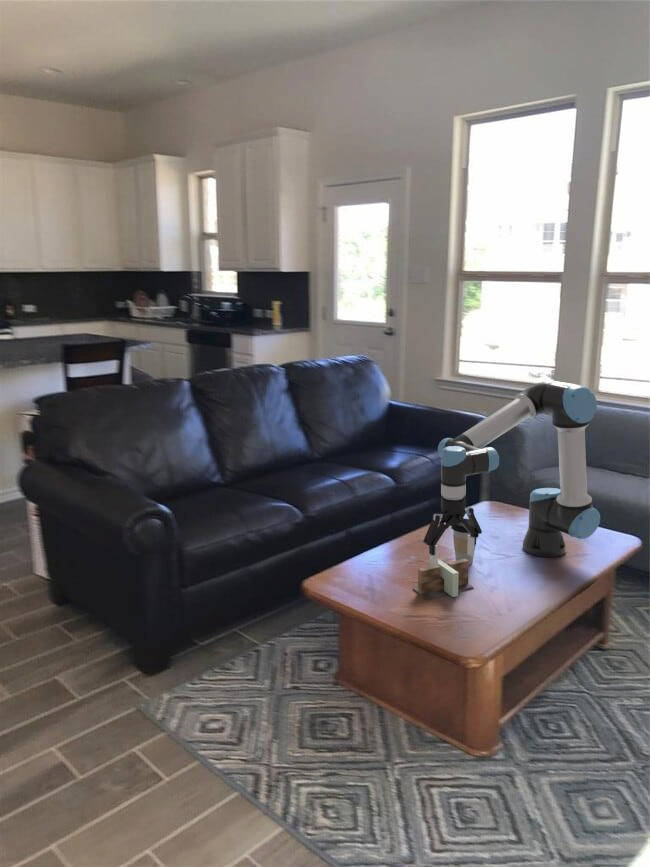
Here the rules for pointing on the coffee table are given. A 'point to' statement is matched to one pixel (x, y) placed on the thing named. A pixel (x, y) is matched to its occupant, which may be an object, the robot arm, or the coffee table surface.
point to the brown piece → (441, 579)
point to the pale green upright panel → (448, 578)
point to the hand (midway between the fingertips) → (452, 559)
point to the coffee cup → (461, 542)
